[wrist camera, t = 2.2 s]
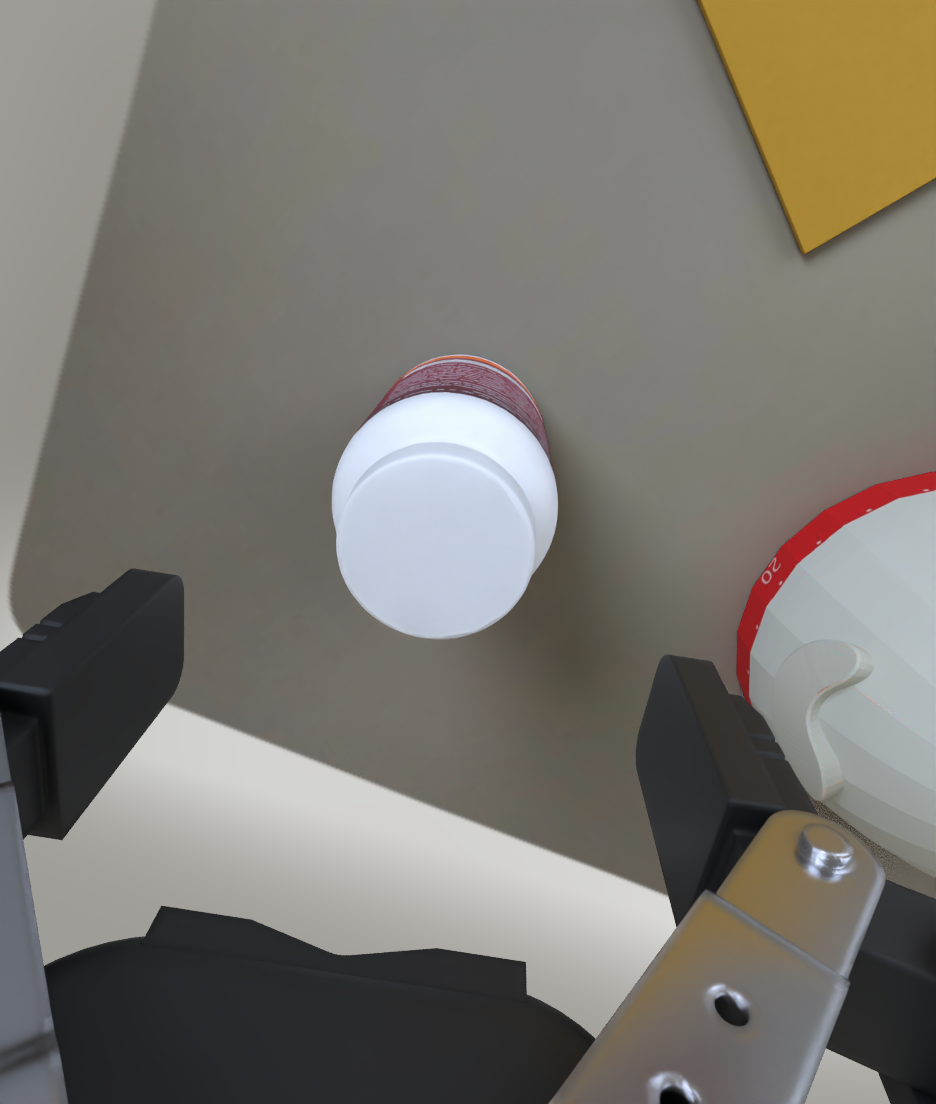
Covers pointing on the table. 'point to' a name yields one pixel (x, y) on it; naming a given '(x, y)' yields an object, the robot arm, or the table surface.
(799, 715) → the kitchen timer
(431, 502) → the pill bottle
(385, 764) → the table surface
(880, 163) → the cloth
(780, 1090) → the robot arm
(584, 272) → the table surface
